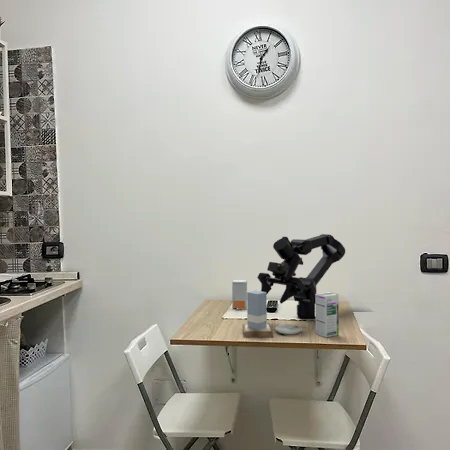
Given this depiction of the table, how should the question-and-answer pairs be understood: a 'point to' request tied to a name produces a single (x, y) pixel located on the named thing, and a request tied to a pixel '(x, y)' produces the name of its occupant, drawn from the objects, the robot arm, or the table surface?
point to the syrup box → (327, 314)
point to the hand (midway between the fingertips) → (270, 300)
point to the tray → (257, 331)
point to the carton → (256, 310)
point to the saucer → (288, 329)
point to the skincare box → (239, 294)
